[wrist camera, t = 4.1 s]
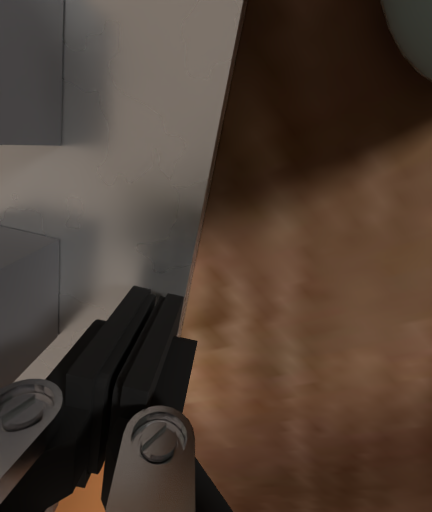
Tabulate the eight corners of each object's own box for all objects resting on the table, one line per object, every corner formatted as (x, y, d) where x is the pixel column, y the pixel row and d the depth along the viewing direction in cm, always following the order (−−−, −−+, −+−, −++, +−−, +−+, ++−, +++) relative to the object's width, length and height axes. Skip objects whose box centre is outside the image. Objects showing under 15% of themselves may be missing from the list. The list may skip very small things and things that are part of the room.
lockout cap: (142, 426, 15) (83, 595, 9) (133, 477, 16) (78, 649, 11) (65, 409, 15) (-40, 568, 9) (64, 461, 16) (-28, 625, 11)
